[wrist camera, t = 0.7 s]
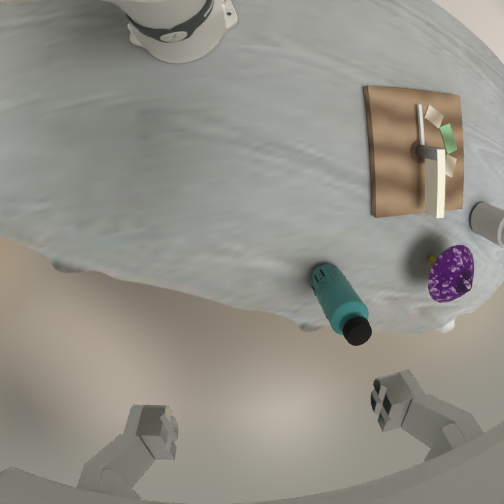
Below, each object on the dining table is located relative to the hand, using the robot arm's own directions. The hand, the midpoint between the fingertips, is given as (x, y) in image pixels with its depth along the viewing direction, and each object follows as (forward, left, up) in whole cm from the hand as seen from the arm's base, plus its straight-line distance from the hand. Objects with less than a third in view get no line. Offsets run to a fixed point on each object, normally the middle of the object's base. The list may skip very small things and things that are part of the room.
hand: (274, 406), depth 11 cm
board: (-5, +33, -44) cm, 56 cm away
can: (+10, +53, -44) cm, 70 cm away
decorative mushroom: (+18, +38, -44) cm, 61 cm away
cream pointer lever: (-4, +33, -42) cm, 54 cm away
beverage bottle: (+18, +13, -44) cm, 50 cm away
